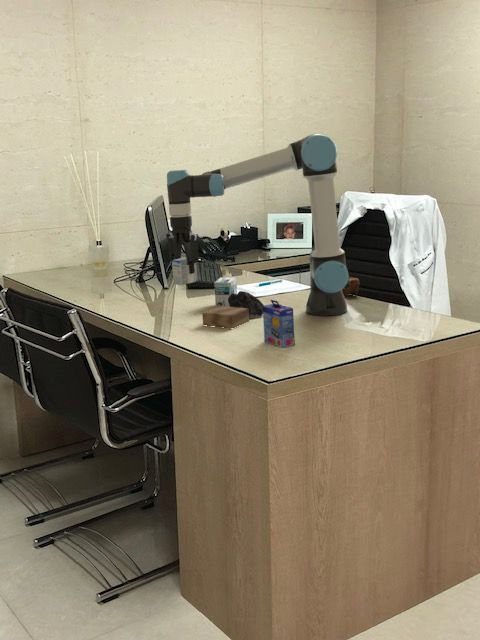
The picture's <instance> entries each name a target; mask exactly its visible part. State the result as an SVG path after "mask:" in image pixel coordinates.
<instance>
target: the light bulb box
mask: <svg viewBox="0 0 480 640" xmlns="http://www.w3.org/2000/svg"><path fill="white" fill-rule="evenodd" d="M213 283H214V297H215V298H214V300H215V308H217V307H219V306H226V307H230V306H229V302H228V298H229V296H230V295H231V294H232V293H234V294H238V292H237V291H238V290H237V287H238V286H237V277H219V278H218V279H217V280H216V281H214V282H213Z"/></svg>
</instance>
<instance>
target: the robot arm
mask: <svg viewBox="0 0 480 640" xmlns="http://www.w3.org/2000/svg"><path fill="white" fill-rule="evenodd" d="M337 157H338V148H337V145H336V143H335V142H334V140H333V139H332V137H330V136H328V135H326V134H323V133H313V134H312V133H311V134H309V135H307V136H305V137H303V138H302V139H299V140H297V141H294V142H290V143H288V145H287V147H285V148H282V149H279V150H275V151H271V152H269V153H265V154H262V155H260V156H256V157H252V158H249V159H246V160H243V161H242V160H241V161H239V162H236V163H234V164H229V165H226V166H223V167H221V168H217V169H214V170H210V171H205V172H203V173H202V174H198V175H197V174H196V175H193V174H189V171H188V170H187V169H177V170H175V169H174V170H169V171H168V172H167V173H166V188H167V189H166V190H167V197H168V198H167V199H168V211H169V213H168V214H169V216H170V218H169V223H170V225H169V226H170V228H171V232H169V233H166V234H165V237H166V240H167V247H168V248H167V249H168V258H169V261H170V262H172V260H175V259H179V258H182V247H183V250H184V253H185V257H186V258H187V262H188V263H187V265H186V271H187V283H188V284H191V283H195V282H194V272H195V269H194V264H195V263H196V264H197V263H199V245H198V240H199V234H198V233H193V230H192V226H193V220H192V216H191V214H192V208H191V207H192V206H191V205H192V204H191V198H207V197H209V198H210V197H211V198H212V197H213V198H214V197H221V196H224V195H225V190H227V189H230V188H232V187H236V186H240V185H243V184H246V183H249V182H252V181H256V180H259V179H263V178H265V177H269V176H273V175H276V174H279V173H283V172H285V171H289V170H292V169H293V170H295V171H299V170H302V177H303V178H304V179H306V180H307V182H308V192H309V202H310V211H311V222H312V223H311V224H312V231H313V242H314V250H311V251H310V253H309V258H308V259H309V272H310V273H309V277H310V278H309V281H310V283H309V284H310V291H309V295H308V298H307V302H306V305H305V312H306V313H307V314H310V315H314V316H336V315H337V316H338V315H342V314H345V313H347V312H348V304H347V302H346V297H345V296H344V295H343V292H342V289H343V288H344V287H345V285H346V284H347V281H348V276H349V275H350V274H349V271H348V267H347V263H346V254H345V253H346V252H345V250H344V249H342V248H341V246H340V236H339V225H338V224H339V223H338V213H337V203H336V193H335V182H334V179H335V177H336V175H337V174H338V165H337V164H338V163H337Z"/></svg>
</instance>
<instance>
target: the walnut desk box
mask: <svg viewBox="0 0 480 640" xmlns="http://www.w3.org/2000/svg"><path fill="white" fill-rule="evenodd" d="M246 322H247V323H249V322H250V318H249V309H247V308H237V307H226V306H219V307H217V308H216V307H214V308H212V309H210V310H207V311H205V312H202V326H203V325H207V326H215V327H224V328H234V329H236V328H238V327H240V326H239V325H241V326H242V324H243V325H244V323H245V324H247V323H246ZM237 326H238V327H237ZM215 327H214V328H215ZM235 327H236V328H235ZM224 328H223V329H224Z"/></svg>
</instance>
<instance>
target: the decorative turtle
mask: <svg viewBox="0 0 480 640" xmlns="http://www.w3.org/2000/svg"><path fill="white" fill-rule="evenodd" d="M360 285H361V282H360V279H359V278H358V277H352V276H348V281H347V284H346V285H345V287H344V288H343V289H342V292H343V295H344V298H348V297H349V296H350V294H352V295H353V296H357V295H358V293H359V289H360Z"/></svg>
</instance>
